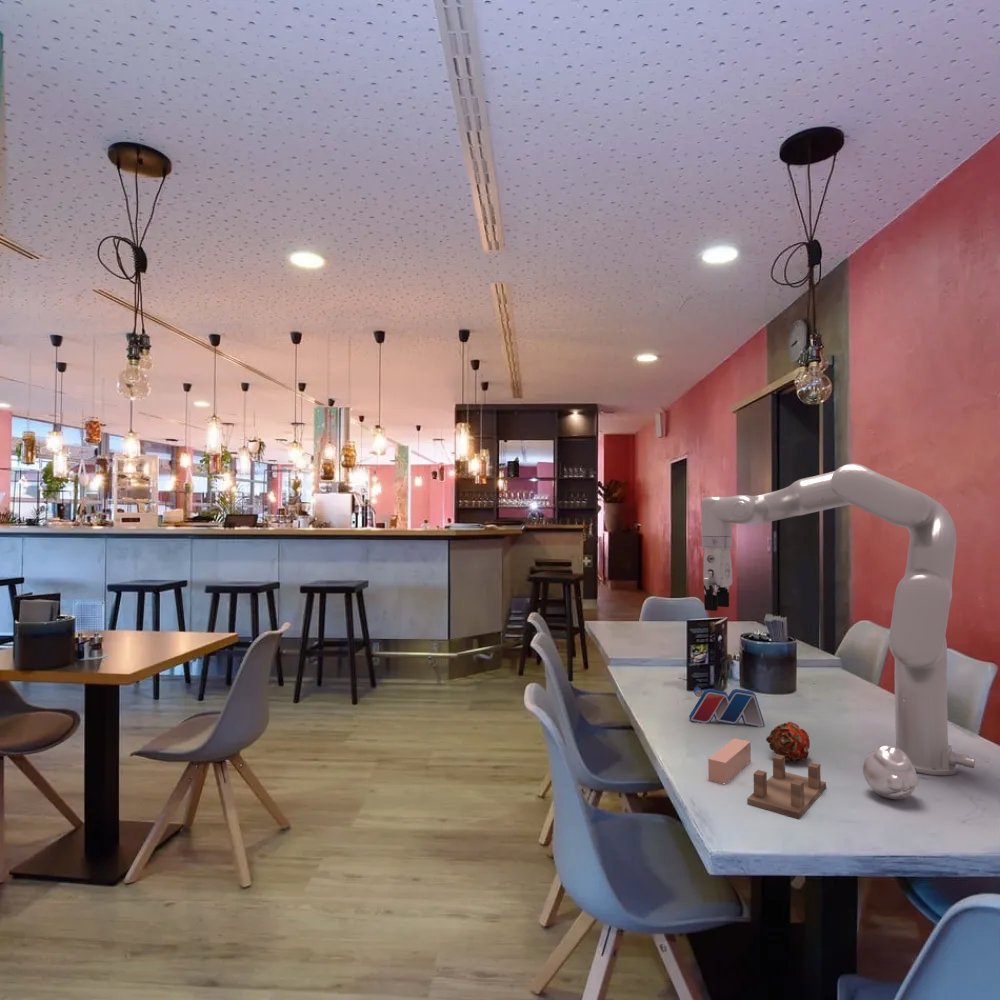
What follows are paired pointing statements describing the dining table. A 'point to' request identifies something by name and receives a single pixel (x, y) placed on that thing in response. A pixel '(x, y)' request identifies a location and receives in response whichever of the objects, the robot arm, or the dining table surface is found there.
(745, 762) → the clay strip
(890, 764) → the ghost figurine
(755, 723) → the logo
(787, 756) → the dragon fruit
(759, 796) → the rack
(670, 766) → the dining table surface
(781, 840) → the dining table surface
